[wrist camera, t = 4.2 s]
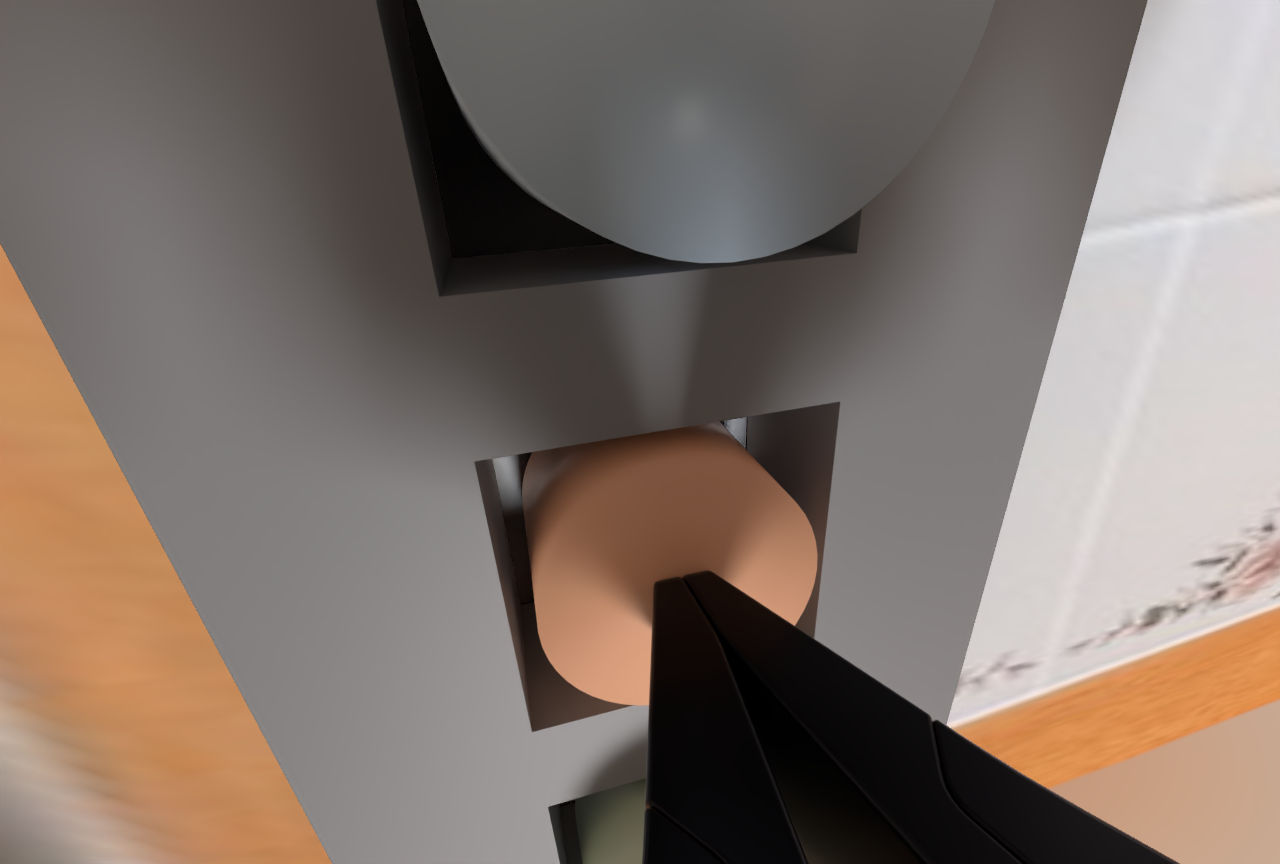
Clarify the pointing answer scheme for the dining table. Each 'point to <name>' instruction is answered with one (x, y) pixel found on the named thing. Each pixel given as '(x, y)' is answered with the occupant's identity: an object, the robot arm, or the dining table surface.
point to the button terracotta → (651, 544)
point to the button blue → (704, 108)
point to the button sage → (612, 824)
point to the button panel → (509, 381)
